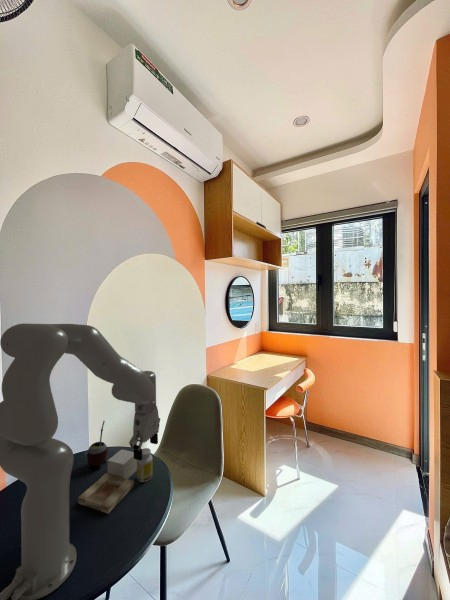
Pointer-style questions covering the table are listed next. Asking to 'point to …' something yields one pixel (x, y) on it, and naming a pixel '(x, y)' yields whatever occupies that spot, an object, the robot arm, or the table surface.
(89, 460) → the mate gourd
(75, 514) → the table surface
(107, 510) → the socket board
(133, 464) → the light gray cube
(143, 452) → the supplement bottle
